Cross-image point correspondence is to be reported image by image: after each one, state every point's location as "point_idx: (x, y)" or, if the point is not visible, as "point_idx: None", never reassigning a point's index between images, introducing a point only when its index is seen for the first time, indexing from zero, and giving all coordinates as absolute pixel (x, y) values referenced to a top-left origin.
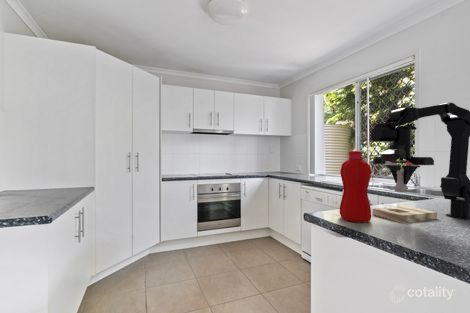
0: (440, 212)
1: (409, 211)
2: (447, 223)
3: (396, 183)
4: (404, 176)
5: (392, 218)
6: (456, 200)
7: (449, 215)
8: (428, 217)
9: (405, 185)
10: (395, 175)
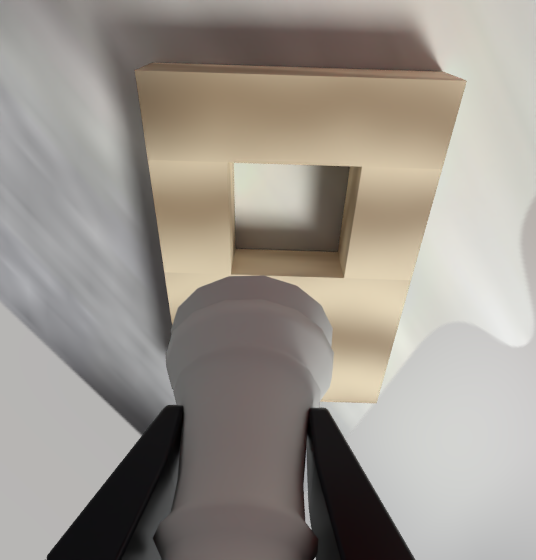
0: None
1: None
2: (102, 325)
3: (296, 391)
4: (106, 537)
5: (242, 68)
6: None
7: None
8: None
9: (175, 396)
10: (336, 555)
